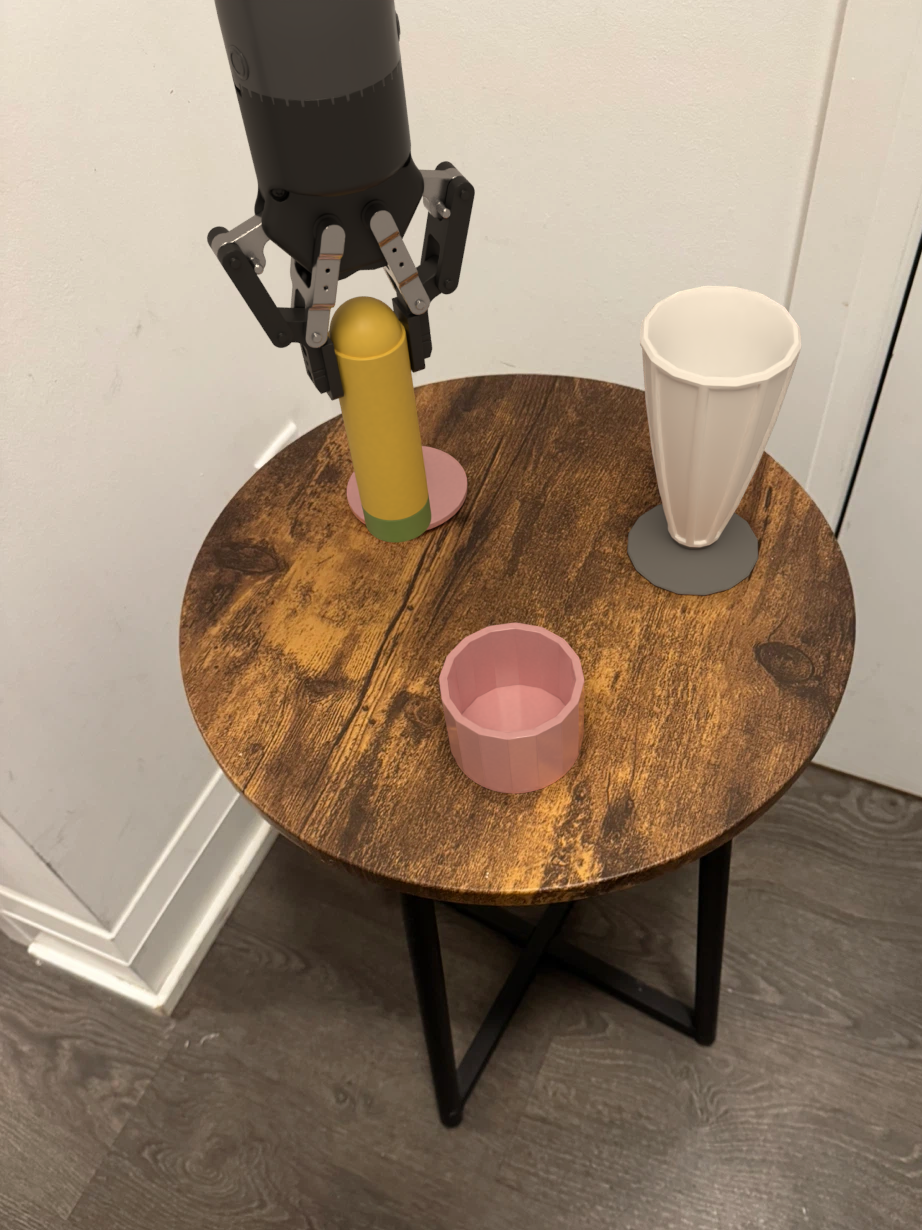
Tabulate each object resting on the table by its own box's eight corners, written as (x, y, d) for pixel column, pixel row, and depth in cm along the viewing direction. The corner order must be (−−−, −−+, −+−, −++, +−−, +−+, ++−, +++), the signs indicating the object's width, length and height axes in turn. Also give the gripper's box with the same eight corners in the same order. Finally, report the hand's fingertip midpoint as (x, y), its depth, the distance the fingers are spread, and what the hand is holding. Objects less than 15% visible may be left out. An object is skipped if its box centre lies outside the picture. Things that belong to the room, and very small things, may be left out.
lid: (351, 546, 92) (338, 494, 87) (345, 462, 98) (333, 409, 93) (475, 530, 92) (469, 477, 87) (461, 448, 99) (455, 394, 94)
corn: (367, 546, 68) (320, 331, 54) (364, 499, 70) (318, 283, 57) (434, 538, 68) (403, 323, 55) (428, 492, 70) (398, 275, 57)
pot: (458, 803, 77) (447, 748, 70) (443, 693, 82) (433, 633, 76) (593, 782, 77) (595, 726, 71) (570, 675, 83) (569, 614, 77)
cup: (785, 564, 89) (837, 348, 71) (672, 615, 86) (696, 404, 68) (710, 484, 95) (741, 265, 77) (602, 529, 92) (608, 313, 74)
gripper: (426, -14, 49) (456, 307, 63) (132, 55, 46) (233, 380, 60) (497, 47, 46) (512, 375, 60) (182, 128, 42) (277, 457, 56)
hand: (372, 376), depth 60 cm, fingers closed on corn, 4 cm apart
